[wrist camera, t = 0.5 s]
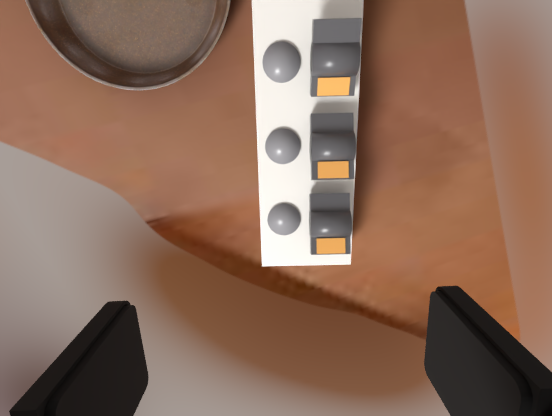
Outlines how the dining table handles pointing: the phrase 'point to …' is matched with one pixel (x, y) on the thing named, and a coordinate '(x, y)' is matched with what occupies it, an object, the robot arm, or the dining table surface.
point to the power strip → (293, 125)
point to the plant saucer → (132, 37)
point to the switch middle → (332, 146)
